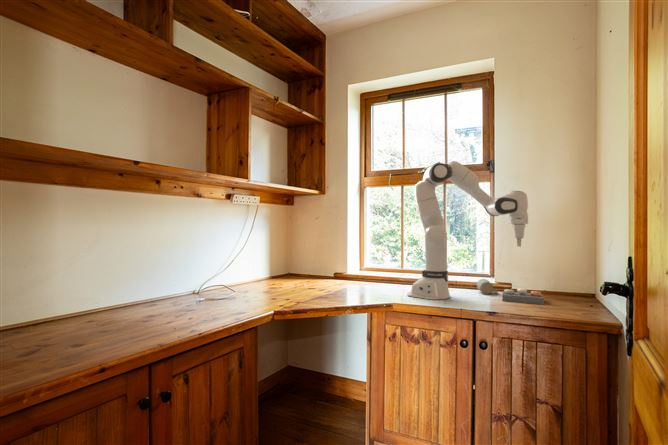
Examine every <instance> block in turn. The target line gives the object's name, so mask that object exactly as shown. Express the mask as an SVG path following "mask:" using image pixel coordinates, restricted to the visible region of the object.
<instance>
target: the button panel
mask: <svg viewBox="0 0 668 445" xmlns="http://www.w3.org/2000/svg"><path fill="white" fill-rule="evenodd" d="M501 301H502V302H509V303H523V304H524V303H525V304H531V305H532V304H534V305H544V304H545V298H544V296H543V294H542V293H541V296H533V295H531V292H527V293H524V295H520V293H519V292H517V291H514V294H506V293H504V290H502V300H501Z"/></svg>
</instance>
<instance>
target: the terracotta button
mask: <svg viewBox="0 0 668 445" xmlns="http://www.w3.org/2000/svg"><path fill="white" fill-rule="evenodd" d="M530 293H531V295H533V296H541V294H542V292H541V291H537V290H532V291H530Z"/></svg>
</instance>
